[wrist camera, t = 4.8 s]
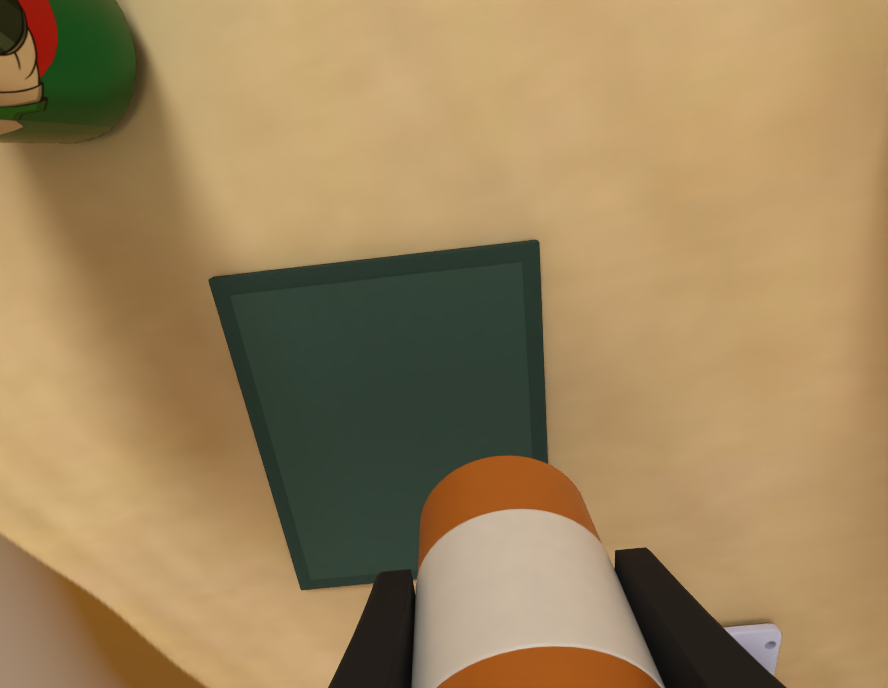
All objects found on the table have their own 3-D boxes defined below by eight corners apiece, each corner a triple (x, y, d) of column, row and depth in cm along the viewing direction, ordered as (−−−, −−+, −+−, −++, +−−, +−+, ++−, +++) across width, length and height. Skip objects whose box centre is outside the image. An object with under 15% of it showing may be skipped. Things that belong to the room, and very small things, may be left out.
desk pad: (550, 558, 21) (552, 567, 21) (303, 583, 22) (300, 591, 21) (537, 239, 16) (539, 241, 16) (212, 276, 16) (206, 280, 16)
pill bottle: (591, 582, 12) (795, 1146, 5) (424, 597, 13) (410, 1169, 6) (592, 439, 11) (884, 972, 4) (402, 458, 11) (343, 1011, 4)
